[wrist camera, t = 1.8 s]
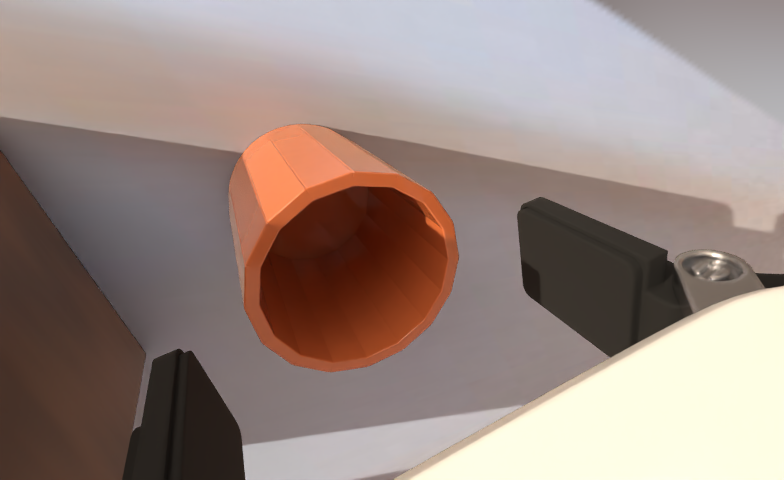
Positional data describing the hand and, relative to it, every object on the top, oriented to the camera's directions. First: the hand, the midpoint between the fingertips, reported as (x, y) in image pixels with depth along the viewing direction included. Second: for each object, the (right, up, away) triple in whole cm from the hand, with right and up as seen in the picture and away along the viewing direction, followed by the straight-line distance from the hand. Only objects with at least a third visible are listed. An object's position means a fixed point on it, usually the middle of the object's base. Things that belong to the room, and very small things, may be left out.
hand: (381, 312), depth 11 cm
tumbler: (-4, +4, +7) cm, 9 cm away
